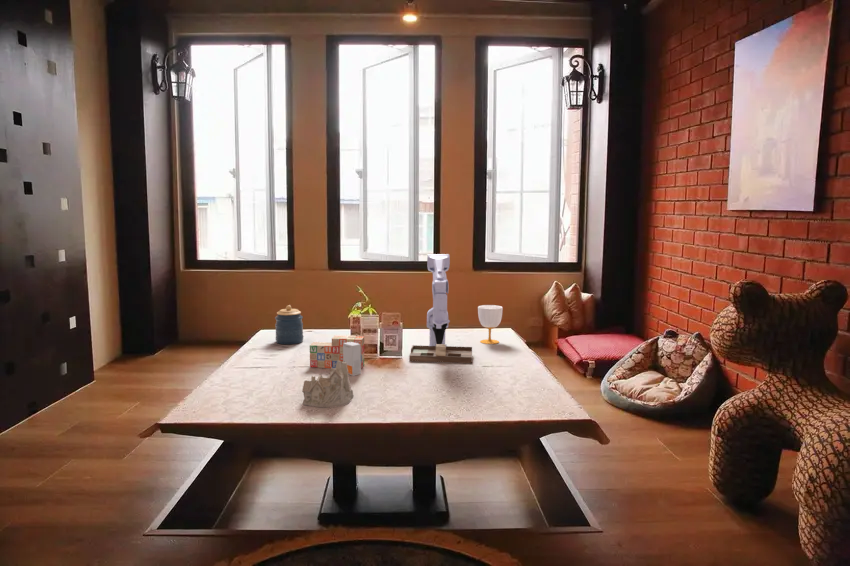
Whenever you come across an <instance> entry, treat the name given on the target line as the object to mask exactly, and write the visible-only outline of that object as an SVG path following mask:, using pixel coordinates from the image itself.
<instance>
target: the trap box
mask: <svg viewBox="0 0 850 566" xmlns="http://www.w3.org/2000/svg"><path fill="white" fill-rule="evenodd" d="M408 357H409V359H408V361H409V362H418V363H419V362H420V363H421V362H422V363H424V362H425V363H454V364H455V363H456V364H457V363H458V364H472V360H473V346H454V345H453V346H448V345H447V346H446V355H445V356H436V346H429V345H414V344H413V345H411V348H410V353H409V356H408Z"/></svg>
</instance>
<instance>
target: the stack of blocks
mask: <svg viewBox="0 0 850 566" xmlns="http://www.w3.org/2000/svg"><path fill="white" fill-rule="evenodd" d="M347 342H354V343H358V344H361V370H362V369H363V367H365V336H363V335H362V336H358V335H337V334H336V335H333V337H332V338H331V342H325V341H324V342H323V341H321V342H320V341H313V342H312V343H310V344H309V367H310V368H319V369H321V368H324V369H330V368H336V364H337V361H341V365H342V362H343V343H347Z"/></svg>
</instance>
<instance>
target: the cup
mask: <svg viewBox="0 0 850 566" xmlns="http://www.w3.org/2000/svg"><path fill="white" fill-rule="evenodd" d="M503 311H504V310H503V306H501V305H495V304H482V305H478V306H477V315H478V322H479V323H480V325H481V326H482V327H483V328H486V329H488V337H487V339H482V340H480V341H479V342H480V343H481V344H484V345H497V344H499V343H500V341H499V340H497V339H492V334H491V333H492V329H495V328H498V326H499V325H500V324H501V321H502V319H503Z"/></svg>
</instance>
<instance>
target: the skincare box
mask: <svg viewBox="0 0 850 566" xmlns="http://www.w3.org/2000/svg"><path fill="white" fill-rule="evenodd" d="M343 362H346V363H347V369H348V376H349V375H350V376H353V377H354V376H357V375H361V374H362V369H361V344H358V343H354V342H347V343H343Z"/></svg>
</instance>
